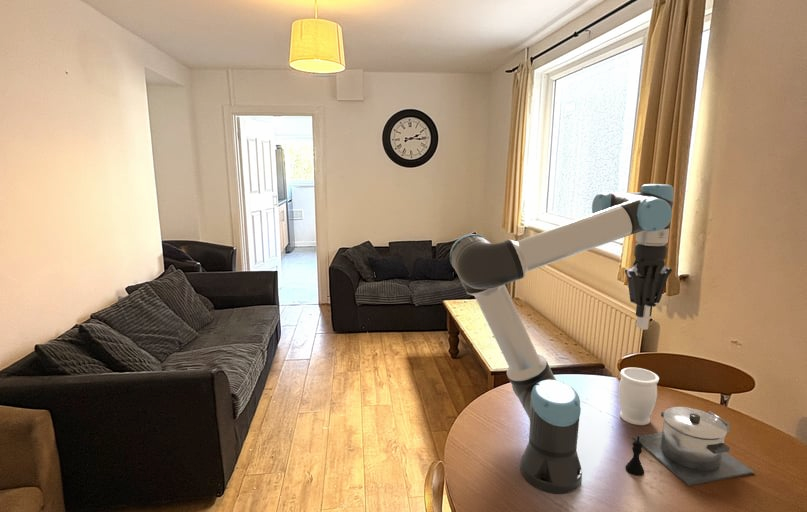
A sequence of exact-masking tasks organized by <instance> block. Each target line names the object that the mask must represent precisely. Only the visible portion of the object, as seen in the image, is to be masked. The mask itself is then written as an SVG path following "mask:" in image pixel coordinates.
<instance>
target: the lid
mask: <svg viewBox="0 0 807 512" xmlns="http://www.w3.org/2000/svg"><path fill="white" fill-rule="evenodd" d="M663 412H664V418H663V421H664V420H665V422H666V423H667V424H668V425H669V426H670V427H672V428H673V429H675V430H676V431H678V432H680V433H683V434H685V435H688V436H691V437H694V438H699V439H705V440H716V439H721V438H723V437H725V438H726V435H727V433H726V432H727V428H726V426H730V427H731V423H730V422H729V421H727V420H725V419H724V418H722V417H720V416H719V415H718V414H715V413H714V412H712V411H711V410H709V411H708V412H706V411H703V410H700V409H698V408H692V407H687V406H673V407H672V406H671V407H669V408H667V409H665V410H664V411H663ZM725 425H726V426H725Z"/></svg>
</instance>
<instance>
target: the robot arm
mask: <svg viewBox="0 0 807 512" xmlns="http://www.w3.org/2000/svg"><path fill="white" fill-rule="evenodd" d="M674 191H675V190H674V187H673V186H672V185H671V184H668V183H667V184H664V183H663V184H662V183H644V184H642V185H641V187H640V191H637V192H635V191H634V192H631V191H630V192H624V191H623V192H621V191H620V192H619V191H617V192H616V191H615V192H614V191H608V192H598V193H597V194H596V195H595V196H594V198H593V200H592V205H591V212H592V214H588V215H586V216H583V217H581V218H577V219H575V220H572V221H569V222H567V223H564V224H561V225H559V226H555V227H552V228H550V229H547V230H544V231H541V232H539V233H535V234H533V235H529V236H527V237H525V238H522V239H519V240H516V241H514V240H512V239H510V238H509V239H506V240H504V241H501V242H493V243H491V241H489V239H488V238H487V237H485V236H483V235H480V234H474V233H469V234H465V235H463V236H460V237H459V238H458V239H456V241H455V242H454V243H453V244H452V246H451V247H450V253H449V261H450V262H449V263H450V264H451V267H452V268H453V269H454V271H455V272H456V274H457V276H458V279H459V281H460V283H461V285H462V287H463V288H464V290H465V293H466V294H467V295H470V296H474V299H475V300H476V302H477V304H478V306H479V309H480V311H481V312H482V314H483V318H484V319H485V321H486V322H487V325H488V326H489V328H490V331H491V333H492V335H493V336H494V340H495V341H496V343H497V345H498V347H499V350H500V351H501V354H502V356H503V357H504V360H505V362H506V363H507V365H508V367H507V370H506V376H507V378H508V380H509V382H510V385H511V388H512V390H513V392H514V394H515V395H516V397H517V399H518V401H519V402H520V403H521V405H522V408H523V409H524V411H525V413H526V415H527V416H528V419H529V431H528V432H529V434H528V435H529V436H528V442H527V445H526V447H525V450H524V452H523V455H522V456H521V459H520V472H521V473H520V474H521V475H522V477H523V478H524V479H525V480H526V481H527V482H528V483H529V484H530V485H531V486H533V487H535V488H537V489H538V490H541V491H544V492H547V493H552V494H568V493H571V492H574V491H575V490H577V489H578V488H580V486H581V485H582V482H583V481H582V479H583V470H582V465H581V462H580V458H579V455H578V450H577V447H578V438H579V427H580V417H581V410H582V409H581V400H580V396H579V394H578V392H577V391H576V390H575V388H573V387H572V386H571V385H569V384H564V381H563V382H562V381H559V380H557V379H556V377H555V375H554V373H553V371H552V369H551V367H550V365H549V363H548V361H547V358H546V357H545V356H543V355H541V354H538V352H537V349H536V348H535V346H534V344H533V342H532V340H531V337H530V336H529V333H528V331H527V329H526V327H525V325H524V323H523V321H522V318H521V316H520V314H519V312H518V309H517V308H516V307H517V306H515V303H514V301H513V300H512V297H511V295H510V293H509V290H508V288H507V285H506V284H509V283H510V284H511V283H513V282H516V281H518V280H521V279H524V278H525V277H526V275H527V273H528V272H530V271H533V270H536V269H539V268H542V267H544V266H547V265H550V264H553V263H556V262H559V261H561V260H563V259H566V258H570V257H572V256H575V255H579V254H581V253H583V252H587V251H589V250H592V249H596V248H597V247H601V246H603V245H606V244H609V243H612V242H614V241H617V240H620V239H623V238H625V237H628V236H631V235H634V234H635V241H636V243H635V244H634V258H635V260H634V262H633V266H632V267H631V268H629V269H628V268H625V270H624V273H625V275H626V278H627V284H628V285H627V286H628V293H629V302H630V303H633V304H635V305H636V309H635V316H636V326H635V327H637V328H639V329H641V330H643V331H644V330H648V329H649V322H650V317H651V316H652V312H653V307H657V304H659V303H660V302H661V299H662V296H663V292H664V290H665V287H666V283H667V281H668V278H669V276H670V275H671V273H673V269H672V268H670V267H667V265H665V264H666V262H665V259H667V255H668V245H667V244H668V242H669V237H670V226H671V222H672V221H671V220H672V217H673V205H674V194H675V193H674Z"/></svg>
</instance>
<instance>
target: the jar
mask: <svg viewBox="0 0 807 512" xmlns="http://www.w3.org/2000/svg"><path fill="white" fill-rule="evenodd" d="M619 373H620V376H621V378H620V380H619V385H618V401H619V402H618V403H619V407H620V410H621V411H620V412H619V417H620V418H621V419H622V420H623V421H624V422H626V423H629V424H632V425H635V426H645V425H649V424H650V422H651V418H650V416H652V415H653V414H652V413H653V412H654V409H655V405H656V402H657V398H658V386H657V385H658V383H659V380H660V376H658V374H656V373H655V372H653V371H651V370H649V369H646V368H642V367H633V366H632V367H624V368H622V369H621V370H620V372H619Z"/></svg>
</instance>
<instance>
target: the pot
mask: <svg viewBox="0 0 807 512" xmlns="http://www.w3.org/2000/svg"><path fill="white" fill-rule="evenodd" d="M664 412H665V411H661V413H660V416H661V417H662V418H663V425H662V431H660V432H655V433H649V434H641V435H636V436H632V440H634V441H635V440H637V437H638V436H639V441H640V442H641V443H642V445H643V447H642V448H643V449H644V450H646V452H647V453H649V454H650V455H651V456H652V457H653V458H655V459H656V460H657V461H658V462H659V463H661V464H662V465H663V466H664V467H665V468H667V469H668V470H669V471H670V472H671V473H673V474H674V475H675V476H676V477H677V478H679V479H680V480H681V481H682V482H683V483H684V484H686V485H687V486H688V487H690V486H695V485H701V484H705V483H711V482H712V483H713V482H716V481H721V480H727V479H731V478H737V477H742V476H748V475H752V474H755V471H754V470H753V469H751V468H749V467H748V466H747V465H746V464H744V463H742V462H741V461H740V460H738V459H737V458H735V457H734V456H733V455H731V454H730V453H729V452H730V447H729V446H728V445H726V444H725V439H726V436H725V437H723V438H721V439H716V440H705V439H699V438H694V437H691V436H688V435H685V434H683V433H680V432H678V431H676V430H675V429H673V428H672V427H670V426H669V425H668V424H667V423H666V422H665V420H664ZM725 426H726V425H725ZM726 428H727V432H726V434H729V433H730V428H731V425H730V426H726Z"/></svg>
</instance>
